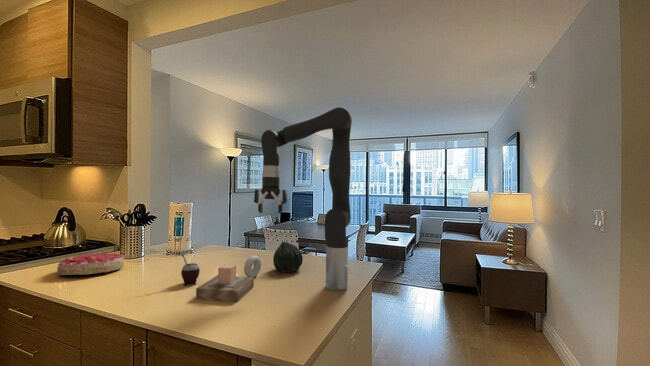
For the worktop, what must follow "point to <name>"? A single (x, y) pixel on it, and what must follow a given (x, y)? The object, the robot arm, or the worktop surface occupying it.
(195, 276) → the mate gourd
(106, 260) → the cake
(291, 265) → the squash
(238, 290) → the walnut base
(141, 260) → the worktop surface
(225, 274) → the terracotta block
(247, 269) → the donut
